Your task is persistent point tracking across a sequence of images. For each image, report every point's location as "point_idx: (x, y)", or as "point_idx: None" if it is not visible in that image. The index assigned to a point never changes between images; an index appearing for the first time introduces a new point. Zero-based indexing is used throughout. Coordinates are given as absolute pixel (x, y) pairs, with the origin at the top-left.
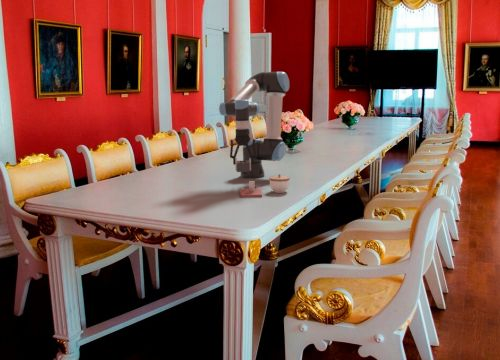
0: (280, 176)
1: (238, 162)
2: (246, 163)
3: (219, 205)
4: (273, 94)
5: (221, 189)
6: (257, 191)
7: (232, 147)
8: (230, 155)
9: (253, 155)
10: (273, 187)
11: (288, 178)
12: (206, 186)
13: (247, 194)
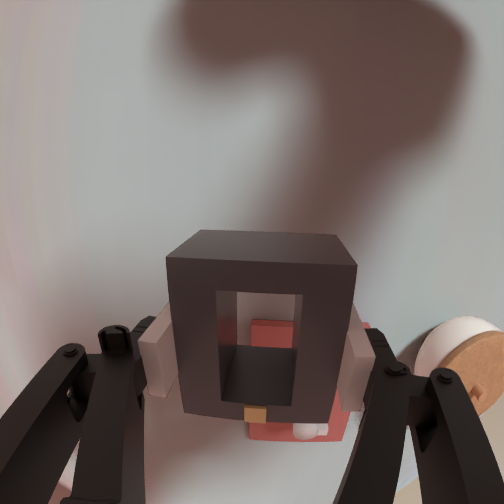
0: (490, 366)
1: (200, 392)
2: (292, 417)
3: (187, 487)
4: None
5: (141, 255)
6: (336, 391)
7: (43, 495)
8: (74, 406)
9: (411, 424)
10: None
11: (496, 399)
12: (65, 161)
13: (279, 435)
